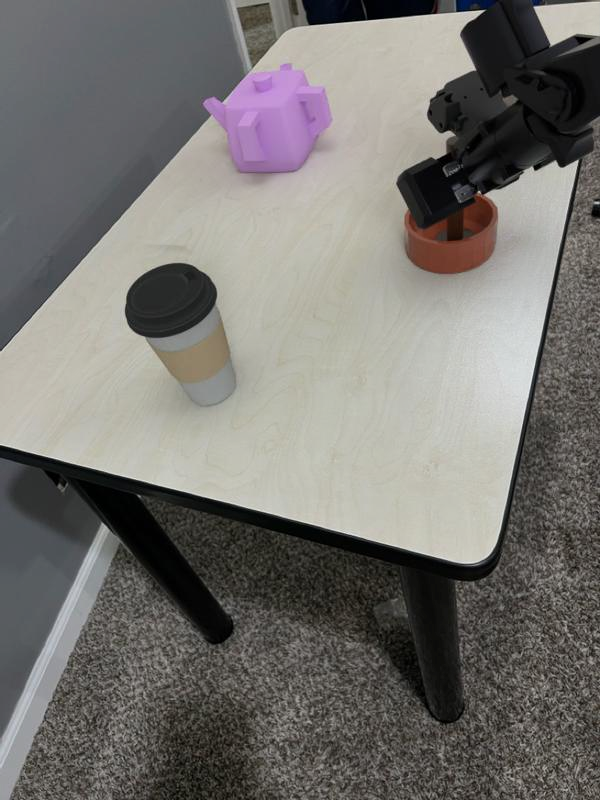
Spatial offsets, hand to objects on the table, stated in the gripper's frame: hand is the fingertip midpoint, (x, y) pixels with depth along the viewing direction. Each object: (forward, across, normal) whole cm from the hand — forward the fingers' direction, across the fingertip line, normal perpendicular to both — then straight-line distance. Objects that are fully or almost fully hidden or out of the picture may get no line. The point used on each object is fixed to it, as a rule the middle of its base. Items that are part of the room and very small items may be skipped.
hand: (447, 192), depth 71 cm
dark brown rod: (+4, 0, +6) cm, 7 cm away
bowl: (+5, 0, +6) cm, 8 cm away
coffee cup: (+4, +36, +7) cm, 37 cm away
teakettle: (+34, +5, -23) cm, 41 cm away
